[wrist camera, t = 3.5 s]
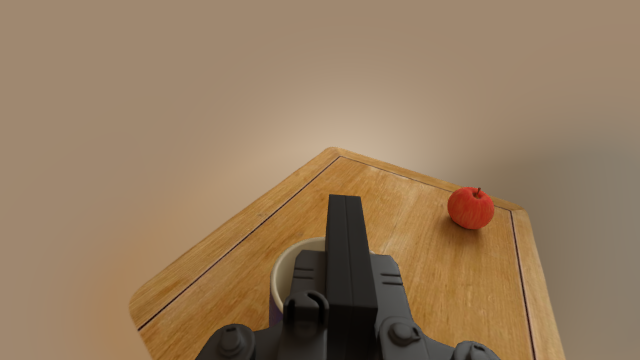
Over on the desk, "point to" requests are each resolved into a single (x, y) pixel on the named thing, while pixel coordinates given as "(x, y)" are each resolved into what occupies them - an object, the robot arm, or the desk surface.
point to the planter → (288, 275)
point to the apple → (470, 208)
